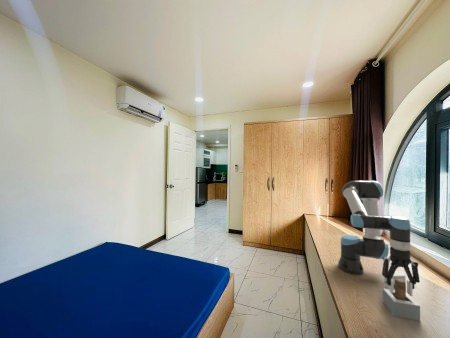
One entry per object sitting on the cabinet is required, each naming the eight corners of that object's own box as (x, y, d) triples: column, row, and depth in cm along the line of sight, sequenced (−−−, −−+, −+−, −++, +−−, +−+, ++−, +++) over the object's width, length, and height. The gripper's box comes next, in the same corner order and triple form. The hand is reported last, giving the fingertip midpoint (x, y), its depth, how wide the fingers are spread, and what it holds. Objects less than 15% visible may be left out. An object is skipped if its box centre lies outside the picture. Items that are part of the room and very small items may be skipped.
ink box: (391, 296, 102) (391, 276, 102) (383, 290, 107) (383, 271, 107) (406, 296, 102) (406, 275, 102) (397, 290, 107) (397, 270, 107)
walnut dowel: (393, 307, 94) (392, 278, 94) (402, 308, 93) (402, 279, 93) (398, 312, 90) (397, 283, 90) (408, 314, 89) (407, 284, 89)
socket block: (383, 301, 98) (383, 288, 98) (406, 305, 95) (406, 292, 95) (394, 316, 88) (394, 301, 88) (420, 321, 85) (420, 305, 85)
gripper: (380, 248, 91) (380, 293, 91) (430, 254, 85) (431, 302, 85) (372, 242, 98) (373, 284, 98) (419, 247, 92) (419, 292, 92)
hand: (400, 293), depth 92 cm, fingers open, 7 cm apart
